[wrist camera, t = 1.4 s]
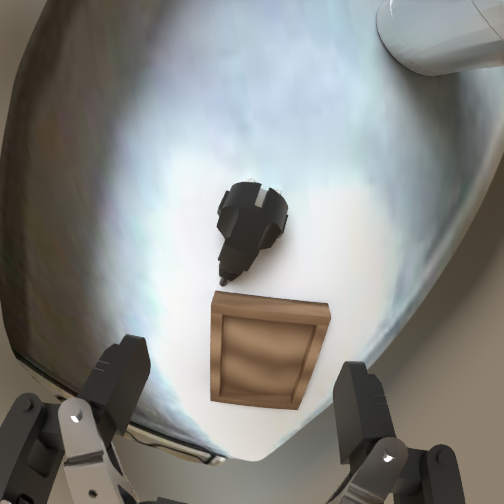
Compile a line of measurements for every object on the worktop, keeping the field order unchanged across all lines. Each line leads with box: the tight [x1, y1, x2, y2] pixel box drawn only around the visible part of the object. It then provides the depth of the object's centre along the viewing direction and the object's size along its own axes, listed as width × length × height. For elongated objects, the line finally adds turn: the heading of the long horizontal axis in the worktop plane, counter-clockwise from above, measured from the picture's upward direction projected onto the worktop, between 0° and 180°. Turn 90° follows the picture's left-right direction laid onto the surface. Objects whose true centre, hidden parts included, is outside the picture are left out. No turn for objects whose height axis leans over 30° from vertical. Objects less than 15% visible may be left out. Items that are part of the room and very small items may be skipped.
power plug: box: [217, 177, 288, 286], centre depth 27 cm, size 6×8×12 cm
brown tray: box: [210, 291, 331, 410], centre depth 34 cm, size 17×12×2 cm
